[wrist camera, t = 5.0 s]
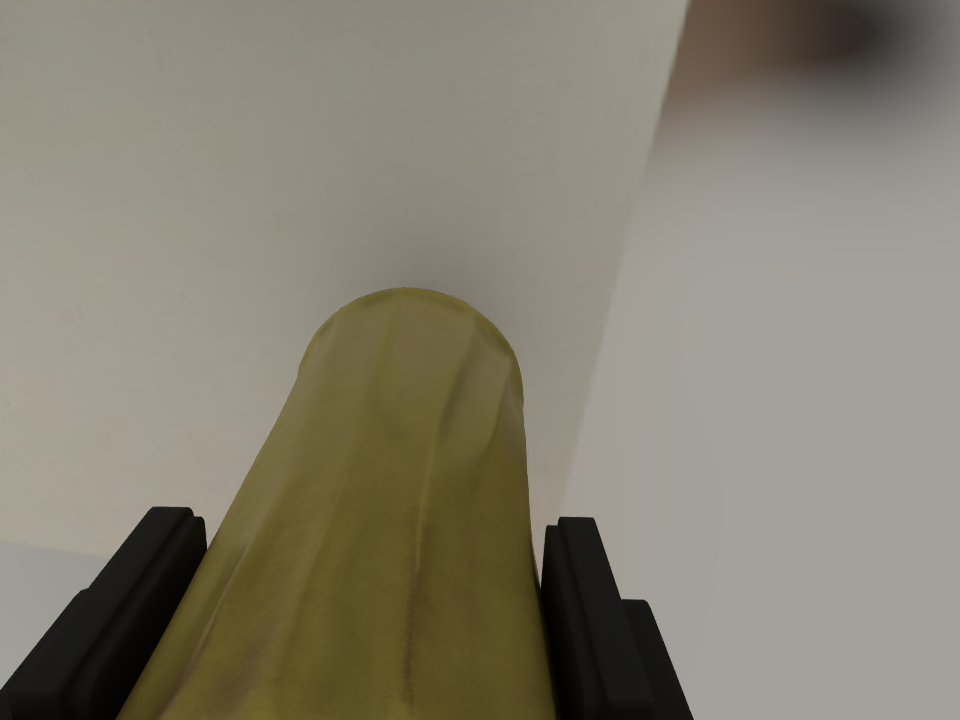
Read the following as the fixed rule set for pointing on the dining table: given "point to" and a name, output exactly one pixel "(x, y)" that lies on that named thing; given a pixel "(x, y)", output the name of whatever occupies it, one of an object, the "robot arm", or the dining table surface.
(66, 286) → the dining table surface
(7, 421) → the dining table surface
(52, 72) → the dining table surface
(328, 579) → the vase
